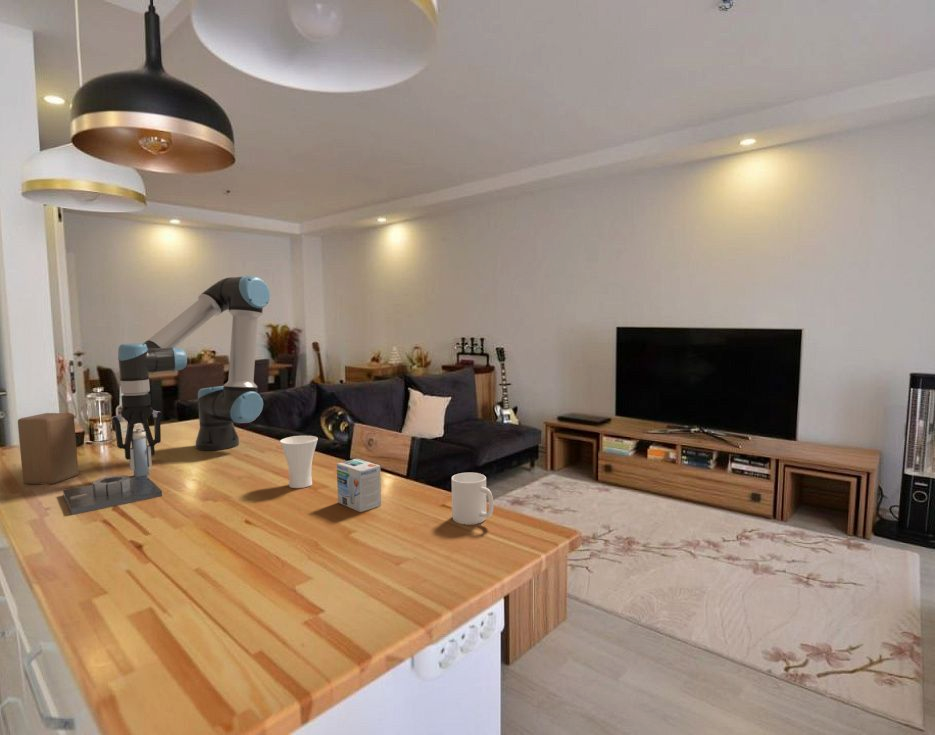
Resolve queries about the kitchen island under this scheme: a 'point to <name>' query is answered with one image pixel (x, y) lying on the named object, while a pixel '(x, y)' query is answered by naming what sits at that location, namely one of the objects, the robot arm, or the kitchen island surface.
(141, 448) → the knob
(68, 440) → the wooden block
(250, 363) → the robot arm
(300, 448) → the cup
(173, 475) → the kitchen island surface
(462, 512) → the cup
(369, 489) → the light bulb box
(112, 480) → the base plate
